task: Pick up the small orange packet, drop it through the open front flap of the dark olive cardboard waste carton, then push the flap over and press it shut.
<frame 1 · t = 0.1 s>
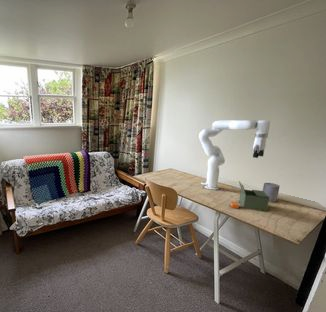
hand: (258, 156, 154), 37 cm above the table, tool pointing down, fingers open, 9 cm apart
packet: (234, 206, 149), on the table
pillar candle: (268, 200, 160), on the table
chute: (252, 205, 150), on the table
flap: (242, 187, 150), point 14 cm above the table, hinge at 110.0°
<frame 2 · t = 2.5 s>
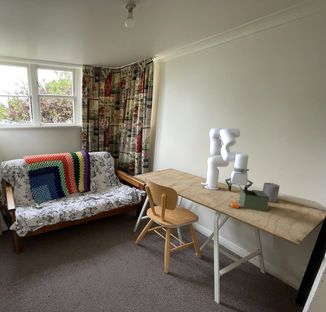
hand: (237, 191, 146), 13 cm above the table, tool pointing down, fingers open, 9 cm apart
flap: (240, 187, 151), point 14 cm above the table, hinge at 124.6°, touching gripper
everything else where it was.
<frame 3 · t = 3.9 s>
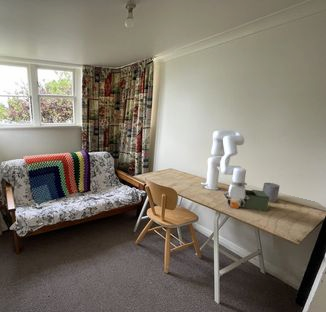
hand: (235, 205, 148), 2 cm above the table, tool pointing down, fingers open, 7 cm apart
flap: (239, 188, 151), point 14 cm above the table, hinge at 136.3°
everything else where it was.
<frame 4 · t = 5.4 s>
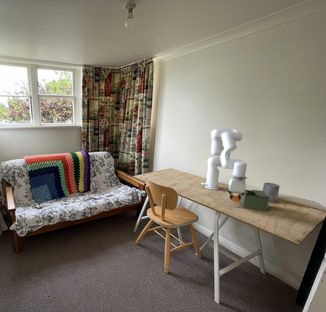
hand: (234, 199, 149), 6 cm above the table, tool pointing down, fingers closed on packet, 4 cm apart
packet: (234, 200, 149), point 5 cm above the table, touching gripper
flap: (239, 188, 151), point 14 cm above the table, hinge at 134.1°, touching gripper
everything else where it was.
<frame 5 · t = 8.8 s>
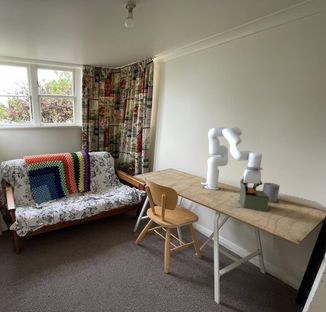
hand: (249, 190, 149), 12 cm above the table, tool pointing down, fingers closed on packet, 3 cm apart
packet: (249, 191, 149), point 12 cm above the table, touching gripper
flap: (242, 187, 150), point 15 cm above the table, hinge at 100.6°, touching gripper
everything else where it was.
when the fingers open (12 cm above the table, at t = 11.3 s): packet drops 11 cm, resting on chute.
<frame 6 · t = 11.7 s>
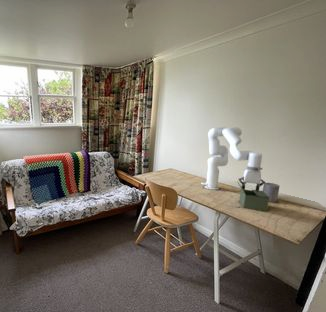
hand: (249, 190, 148), 13 cm above the table, tool pointing down, fingers open, 7 cm apart
packet: (247, 204, 151), resting on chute
flap: (241, 187, 151), point 14 cm above the table, hinge at 119.5°
everything else where it was.
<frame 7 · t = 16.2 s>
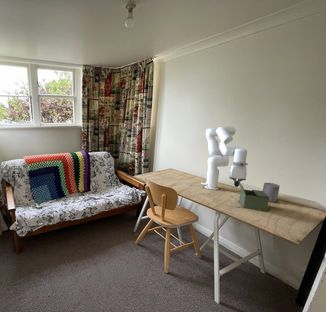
hand: (236, 186, 152), 15 cm above the table, tool pointing down, fingers closed
flap: (241, 187, 150), point 14 cm above the table, hinge at 113.1°, touching gripper
everything else where it was.
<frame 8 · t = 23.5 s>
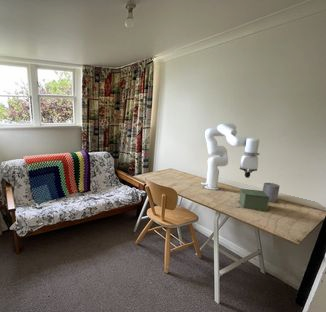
hand: (247, 177, 148), 23 cm above the table, tool pointing down, fingers closed
flap: (248, 192, 149), point 11 cm above the table, hinge at -0.4°
everything else where it was.
at the end: packet inside the target area in the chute (2.9 cm from its centre), point 0.5 cm above the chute's base; flap at +0° (first picture: +110°) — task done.
